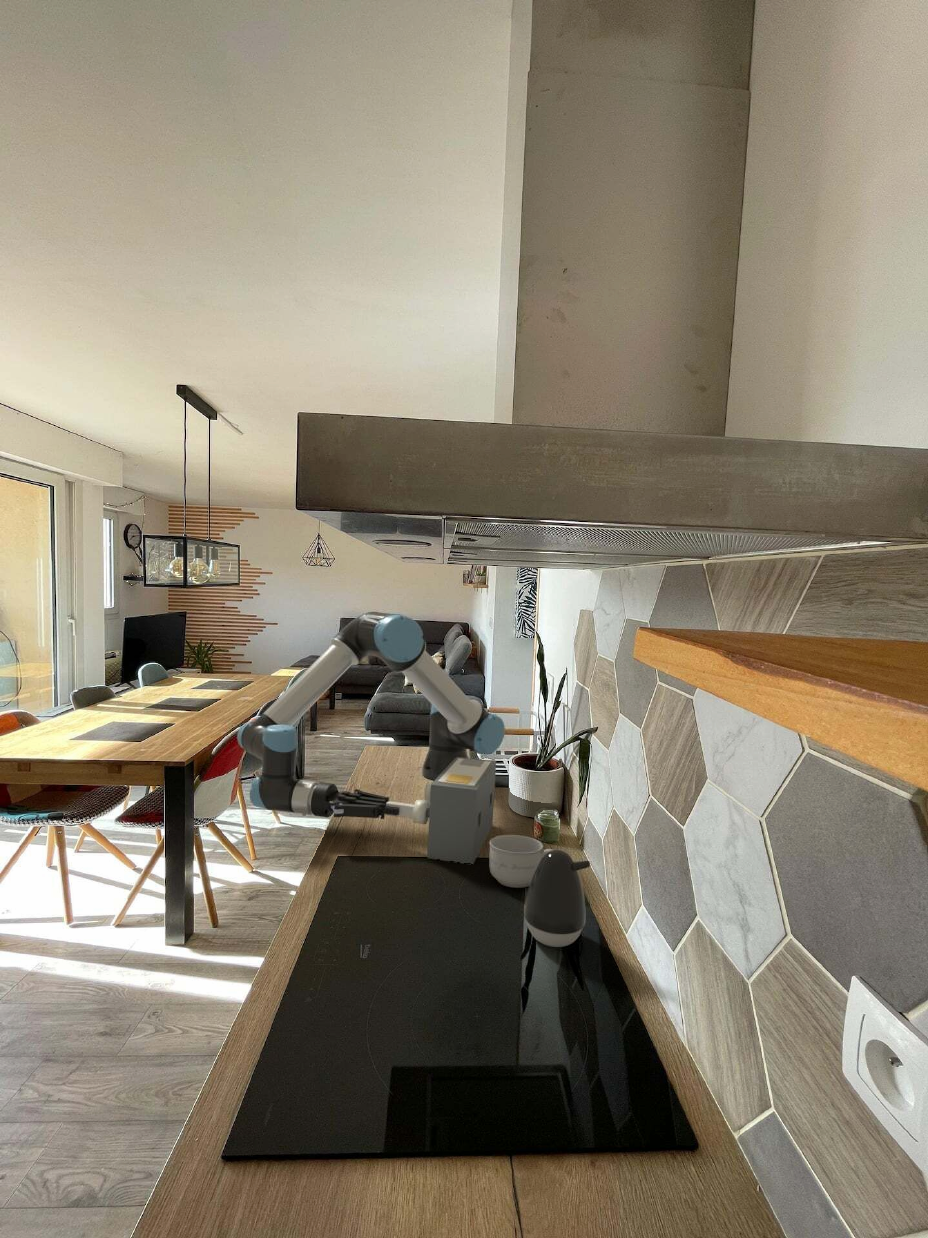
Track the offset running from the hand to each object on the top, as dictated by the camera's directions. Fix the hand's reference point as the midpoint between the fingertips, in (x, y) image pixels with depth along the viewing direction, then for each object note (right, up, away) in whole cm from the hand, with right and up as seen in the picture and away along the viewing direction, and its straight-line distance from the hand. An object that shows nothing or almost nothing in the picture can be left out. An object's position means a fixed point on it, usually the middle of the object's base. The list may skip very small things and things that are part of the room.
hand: (414, 811), depth 145 cm
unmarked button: (+5, -2, +13) cm, 15 cm away
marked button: (+4, -3, 0) cm, 5 cm away
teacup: (+22, -10, -15) cm, 29 cm away
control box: (+11, -8, +5) cm, 14 cm away
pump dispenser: (+26, -11, -35) cm, 45 cm away
